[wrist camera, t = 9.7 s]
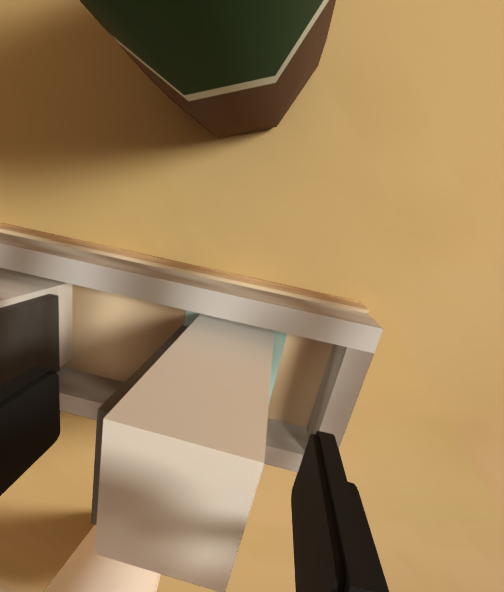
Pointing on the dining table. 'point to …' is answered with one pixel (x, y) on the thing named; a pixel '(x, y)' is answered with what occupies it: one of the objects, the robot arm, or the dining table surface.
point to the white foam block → (184, 452)
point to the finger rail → (174, 329)
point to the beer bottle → (222, 53)
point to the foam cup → (100, 573)
